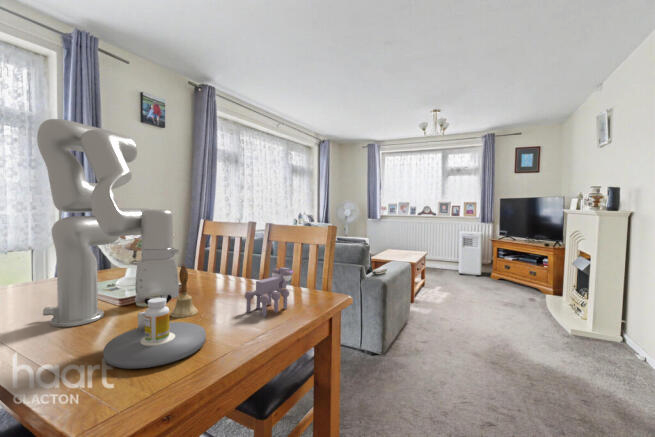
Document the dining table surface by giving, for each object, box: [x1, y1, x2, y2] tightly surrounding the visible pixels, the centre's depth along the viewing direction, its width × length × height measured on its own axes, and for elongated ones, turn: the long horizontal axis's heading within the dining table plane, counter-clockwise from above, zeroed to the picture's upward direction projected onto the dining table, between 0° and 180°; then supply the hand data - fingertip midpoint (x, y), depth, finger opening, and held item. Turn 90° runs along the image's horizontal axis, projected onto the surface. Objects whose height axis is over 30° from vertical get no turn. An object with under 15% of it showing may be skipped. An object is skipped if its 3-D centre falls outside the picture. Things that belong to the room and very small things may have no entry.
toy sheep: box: [244, 267, 294, 318], centre depth 108 cm, size 20×11×14 cm, turn 145°
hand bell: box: [169, 264, 199, 319], centre depth 101 cm, size 8×8×16 cm
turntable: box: [103, 311, 207, 370], centre depth 76 cm, size 22×22×6 cm
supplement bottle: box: [144, 298, 170, 343], centre depth 76 cm, size 5×5×10 cm
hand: (158, 320), depth 84 cm, fingers closed
